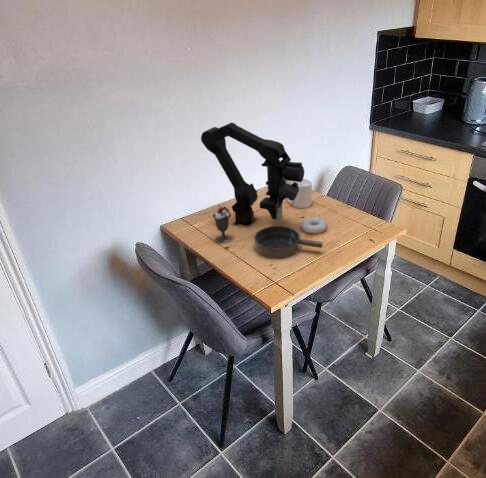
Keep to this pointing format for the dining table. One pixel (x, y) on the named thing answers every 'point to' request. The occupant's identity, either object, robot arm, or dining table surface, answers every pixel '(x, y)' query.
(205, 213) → the dining table surface
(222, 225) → the sundae
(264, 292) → the dining table surface
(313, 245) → the handle
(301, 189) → the cup
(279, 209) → the spice jar
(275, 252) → the black frying pan
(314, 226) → the donut
